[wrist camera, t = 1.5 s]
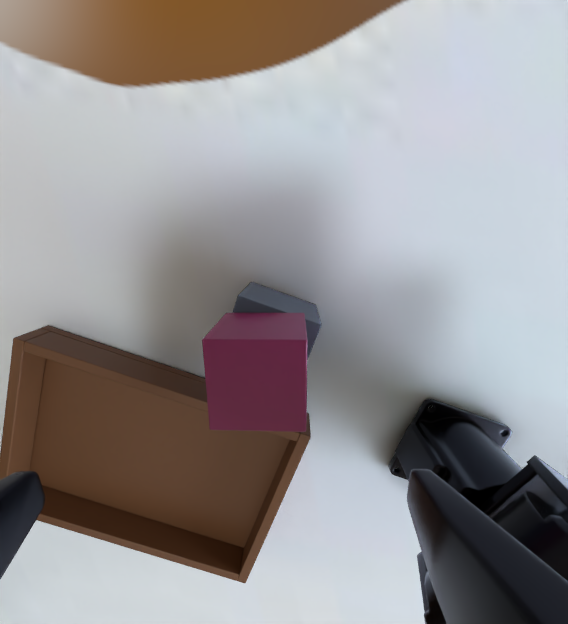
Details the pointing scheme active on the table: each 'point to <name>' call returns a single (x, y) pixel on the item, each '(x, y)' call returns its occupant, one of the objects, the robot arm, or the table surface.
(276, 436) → the tray
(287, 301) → the slate block
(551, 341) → the table surface
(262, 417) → the mulberry block
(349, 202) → the table surface
